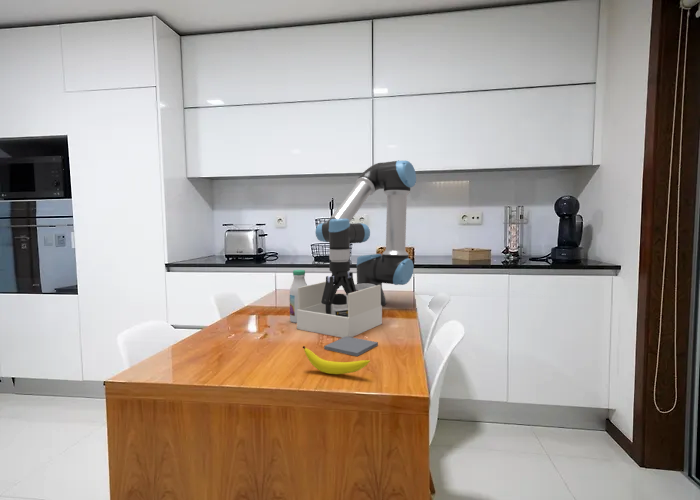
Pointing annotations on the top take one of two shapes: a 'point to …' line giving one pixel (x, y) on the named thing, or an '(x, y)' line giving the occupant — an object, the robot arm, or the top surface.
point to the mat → (351, 346)
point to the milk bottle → (296, 293)
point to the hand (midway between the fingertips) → (340, 318)
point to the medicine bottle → (340, 305)
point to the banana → (334, 364)
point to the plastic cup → (363, 286)
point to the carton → (360, 316)
